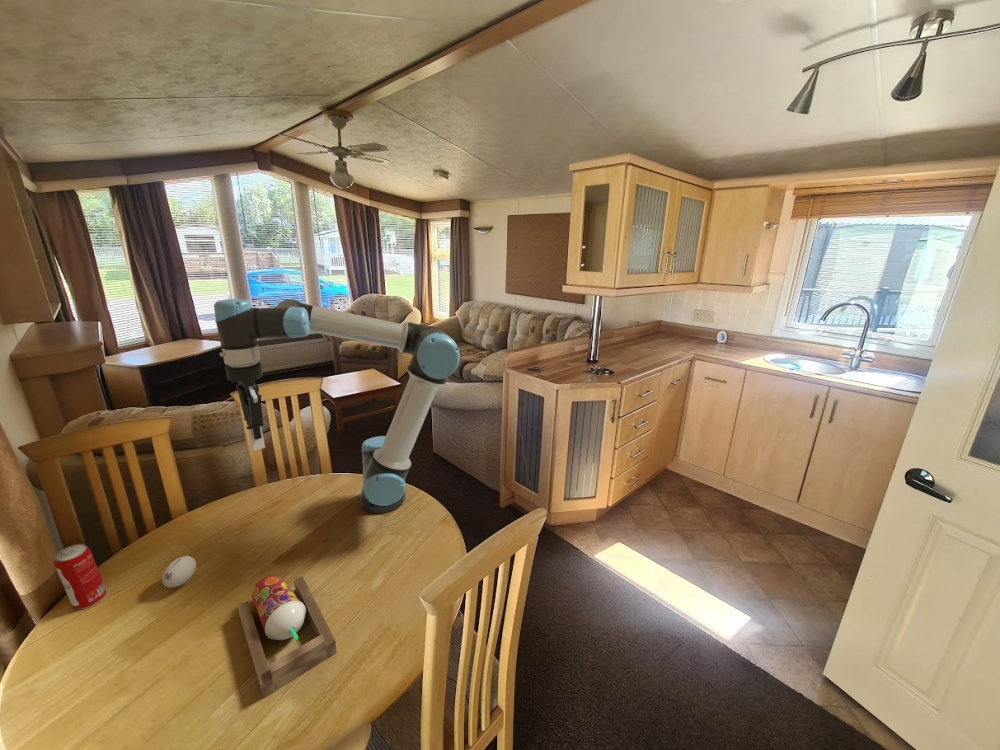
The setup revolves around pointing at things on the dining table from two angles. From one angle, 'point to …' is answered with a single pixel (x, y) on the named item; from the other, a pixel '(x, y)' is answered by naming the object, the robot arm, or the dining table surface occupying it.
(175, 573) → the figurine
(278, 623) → the smoothie
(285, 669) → the u rest
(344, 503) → the dining table surface
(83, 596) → the beverage can
